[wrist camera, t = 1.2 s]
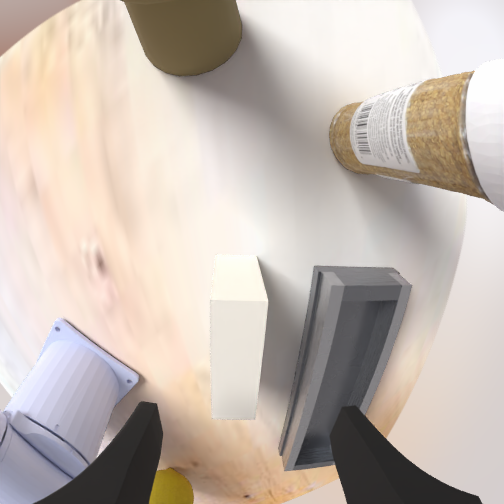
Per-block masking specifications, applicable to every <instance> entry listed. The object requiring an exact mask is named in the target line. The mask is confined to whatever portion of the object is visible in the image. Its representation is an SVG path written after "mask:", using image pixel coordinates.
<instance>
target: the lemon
mask: <svg viewBox="0 0 504 504" xmlns="http://www.w3.org/2000/svg"><path fill="white" fill-rule="evenodd" d="M193 502H194V495H193V489H192V486H191V484H190V483H189V481H188V480H187V479H186V478H185V477H184V476H183V475H181V474H180V473H178V472H176V471H175V470H174V469H172V468H168V469H166V470H159V471H156V475H155V479H154V483H153V487H152V491H151V496H150V501H149V504H193Z"/></svg>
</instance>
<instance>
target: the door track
mask: <svg viewBox="0 0 504 504" xmlns="http://www.w3.org/2000/svg"><path fill="white" fill-rule="evenodd" d="M399 274H400V273H399V272H397V271H396V270H395V269H394V268H376V267H338V266H314V271H313V277H312V284H311V290H310V297H309V303H308V309H307V315H306V320H305V326H304V332H303V337H302V343H301V348H300V353H299V358H298V363H297V368H296V373H295V378H294V383H293V388H292V392H291V397H290V401H289V406H288V410H287V415H286V419H285V423H284V427H283V431H282V435H281V440H280V444H279V447H278V450H279V455H280V456H282V461H283V467H284V471H291V470H301V469H310V468H317V467H324V466H331V465H335V462H334V459H333V455H332V449H331V443H330V437H329V435H330V433H331V431H332V429H333V426H334V424H335V422H336V420H337V417H338V415H339V413H340V410H341V408H342V407H345V406H354V405H356V406H357V407H358V408H359V410H360V411H361V412H362V413H363V414H364V415H365V414H366V411H367V409H368V407H369V405H370V403H371V401H372V398H373V396H374V394H375V391H376V389H377V387H378V384H379V382H380V380H381V377H382V375H383V372H384V370H385V367H386V364H387V362H388V359H389V357H390V354H391V351H392V348H393V346H394V343H395V340H396V337H397V334H398V331H399V328H400V325H401V322H402V319H403V315H404V312H405V309H406V305H407V302H408V299H409V295H410V291H411V288H412V285H411V284H410V283H409V282H408V281H406V280H405V279H404V278H403V277H401V276H400V275H399Z"/></svg>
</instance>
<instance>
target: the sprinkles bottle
mask: <svg viewBox="0 0 504 504" xmlns="http://www.w3.org/2000/svg"><path fill="white" fill-rule="evenodd" d="M329 138H330V145H331V148H332V150H333V152H334V154H335V156H336V158H337V159H338V160H339V161H340V163H341V164H342V165H343V166H344V167H345V168H347V169H348V170H350V171H353V172H355V173H358V174H375V175H378V176H380V177H384V178H389V179H393V180H398V181H403V182H408V183H412V184H424V185H429V186H433V187H437V188H442V189H446V190H450V191H454V192H459V193H463V194H467V195H470V196H474V197H478V198H483V199H485V200H486V201H488V202H490V203H492V204H494V205H495V206H496V207H497V208H499V209H500V210H501V211H504V59H499V60H494V61H490V62H486V63H484V64H482V65H481V66H480V67H478V68H477V70H476V71H472V72H464V73H461V74H455V75H450V76H447V77H443V78H438V79H429V80H425V81H421V82H418V83H415V84H411V85H408V86H404V87H401V88H398V89H395V90H392V91H389V92H385V93H382V94H379V95H376V96H374V97H371V98H369V99H367V100H365V101H363V102H360V103H352V104H350V105H347V106H345V107H343V108H342V109H341V110H340V111H339V112H338V113H337V114H336V115H335V116H334V118H333V120H332V123H331V126H330V132H329Z"/></svg>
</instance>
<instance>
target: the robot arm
mask: <svg viewBox="0 0 504 504" xmlns="http://www.w3.org/2000/svg"><path fill="white" fill-rule="evenodd" d="M58 327H59V328H60V329H59V328H58ZM130 380H131V381H130ZM138 381H139V375H138V374H137V373H136V372H134V371H133V370H131V369H130V368H128V367H127V366H125V365H124V364H122V363H121V362H119V361H118V360H116V359H115V358H113V357H112V356H111V355H109V354H108V353H106V352H105V351H104V350H102V349H101V348H99V347H98V346H97V345H95V344H94V343H93V342H91V341H90V340H89V339H87V338H86V337H85V336H84V335H82V334H81V333H80V332H78V331H77V330H76V329H75V328H73V327H72V326H71V325H70V324H69V323H67V322H66V321H65V320H64V319H62V318H57V319H56V321H55V322H54V324H53V326H52V328H51V331H50V333H49V335H48V337H47V339H46V341H45V344H44V346H43V348H42V350H41V353H40V355H39V357H38V360H37V362H36V364H35V366H34V367H33V368H32V370H31V371H30V372H29V374H28V375H27V377H26V378H25V380H24V381H23V382H22V384H21V385H20V387H19V388H18V390H17V391H16V393H15V394H14V396H13V397H12V399H11V400H10V402H9V403H8V405H7V406H6V408H5V410H4V411H3V412H2V411H1V410H0V504H149V501H150V496H151V491H152V487H153V483H154V479H155V475H156V471H157V467H158V463H159V459H160V454H161V447H162V438H163V431H162V426H161V421H160V417H159V412H158V407H157V404H156V403H149V402H140V403H139V404H138V406H137V408H136V409H135V411H134V412H133V414H132V415H131V417H130V418H129V419H128V421H127V422H126V424H125V425H124V426H123V428H122V429H121V430H120V432H119V433H118V434H117V435H116V437H115V438H114V439H113V440H112V442H111V443H110V444H109V445H108V446H107V447H106V448H105V450H104V451H103V452H102V453H101V454H100V455H99V456H98V457H97V455H98V451H99V448H100V445H101V442H102V439H103V436H104V434H105V431H106V428H107V425H108V422H109V419H110V416H111V414H112V411H113V408H114V407H115V406H116V405H117V403H118V402H119V401H120V400H121V399H122V398H123V397H124V396H125V395H126V394H127V393H128V392H129V391H130V390H131V389H132V388H133V387H134V385H135V384H136V383H137V382H138ZM329 437H330V443H331V449H332V455H333V459H334V462H335V465H336V468H337V472H338V475H339V478H340V481H341V484H342V487H343V491H344V494H345V497H346V501H347V504H482V502H481V500H480V498H479V497H478V496H476V495H472V494H470V493H466V492H464V491H461V490H458V489H456V488H454V487H451V486H449V485H447V484H445V483H443V482H441V481H439V480H438V479H436V478H434V477H432V476H431V475H429V474H427V473H426V472H424V471H423V470H421V469H420V468H419V467H417V466H416V465H415V464H413V463H412V462H411V461H409V460H408V459H407V458H406V457H404V456H403V455H402V454H401V453H400V452H399V451H398V450H397V449H396V448H395V447H393V445H392V444H391V443H390V442H389V441H387V439H386V438H385V437H384V436H383V435H382V434H381V433H380V432H379V431H378V430H377V429H376V428H375V427H374V425H373V424H372V423H371V422H370V421H369V420H368V419H367V418H366V416H365V415H364V414H363V413H362V412H361V411H360V410H359V408H358V407H357V406H356V405H354V406H345V407H342V408H341V410H340V413H339V415H338V417H337V420H336V422H335V424H334V426H333V429H332V431H331V433H330V435H329Z"/></svg>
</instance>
